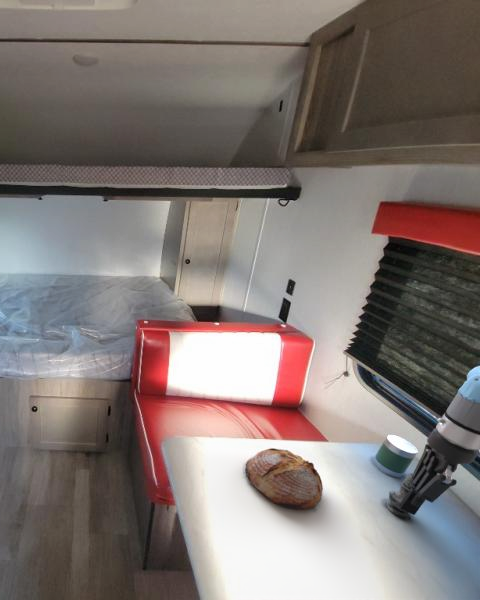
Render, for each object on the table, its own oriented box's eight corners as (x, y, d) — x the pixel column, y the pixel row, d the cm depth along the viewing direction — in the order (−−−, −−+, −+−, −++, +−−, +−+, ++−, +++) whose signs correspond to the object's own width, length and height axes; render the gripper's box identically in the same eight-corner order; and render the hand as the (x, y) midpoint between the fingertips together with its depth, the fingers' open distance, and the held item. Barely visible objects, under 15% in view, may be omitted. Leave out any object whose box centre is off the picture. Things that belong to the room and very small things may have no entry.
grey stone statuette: (393, 516, 85) (414, 477, 83) (377, 498, 91) (396, 461, 88) (418, 523, 85) (439, 484, 82) (401, 505, 90) (420, 468, 88)
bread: (333, 511, 87) (351, 486, 83) (268, 517, 83) (283, 492, 79) (288, 457, 102) (302, 433, 97) (231, 460, 98) (243, 436, 93)
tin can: (407, 477, 100) (424, 452, 96) (389, 479, 98) (406, 454, 94) (383, 458, 106) (398, 433, 102) (366, 459, 104) (380, 435, 101)
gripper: (427, 416, 82) (383, 484, 91) (443, 447, 72) (392, 520, 81) (469, 430, 79) (419, 500, 88) (492, 465, 69) (433, 540, 77)
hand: (406, 509), depth 84 cm, fingers closed
